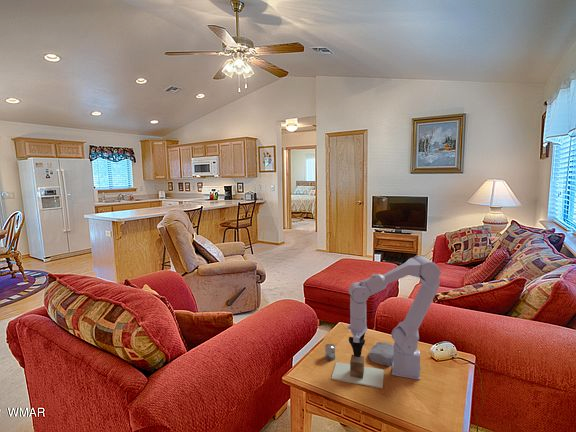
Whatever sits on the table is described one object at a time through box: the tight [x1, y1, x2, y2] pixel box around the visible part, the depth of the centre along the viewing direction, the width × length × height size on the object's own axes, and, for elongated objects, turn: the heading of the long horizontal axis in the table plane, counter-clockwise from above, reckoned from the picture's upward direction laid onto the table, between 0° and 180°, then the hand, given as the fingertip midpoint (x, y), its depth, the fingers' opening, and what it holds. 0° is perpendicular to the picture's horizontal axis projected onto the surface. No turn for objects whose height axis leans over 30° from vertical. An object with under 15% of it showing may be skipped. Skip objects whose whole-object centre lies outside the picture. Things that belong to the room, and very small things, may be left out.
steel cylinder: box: [324, 343, 336, 362], centre depth 130 cm, size 4×4×5 cm
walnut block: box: [349, 354, 365, 379], centre depth 118 cm, size 4×4×6 cm
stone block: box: [368, 341, 394, 367], centre depth 130 cm, size 12×5×10 cm
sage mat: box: [330, 361, 385, 389], centre depth 119 cm, size 18×10×1 cm, turn 71°
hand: (358, 350), depth 118 cm, fingers open, 7 cm apart
